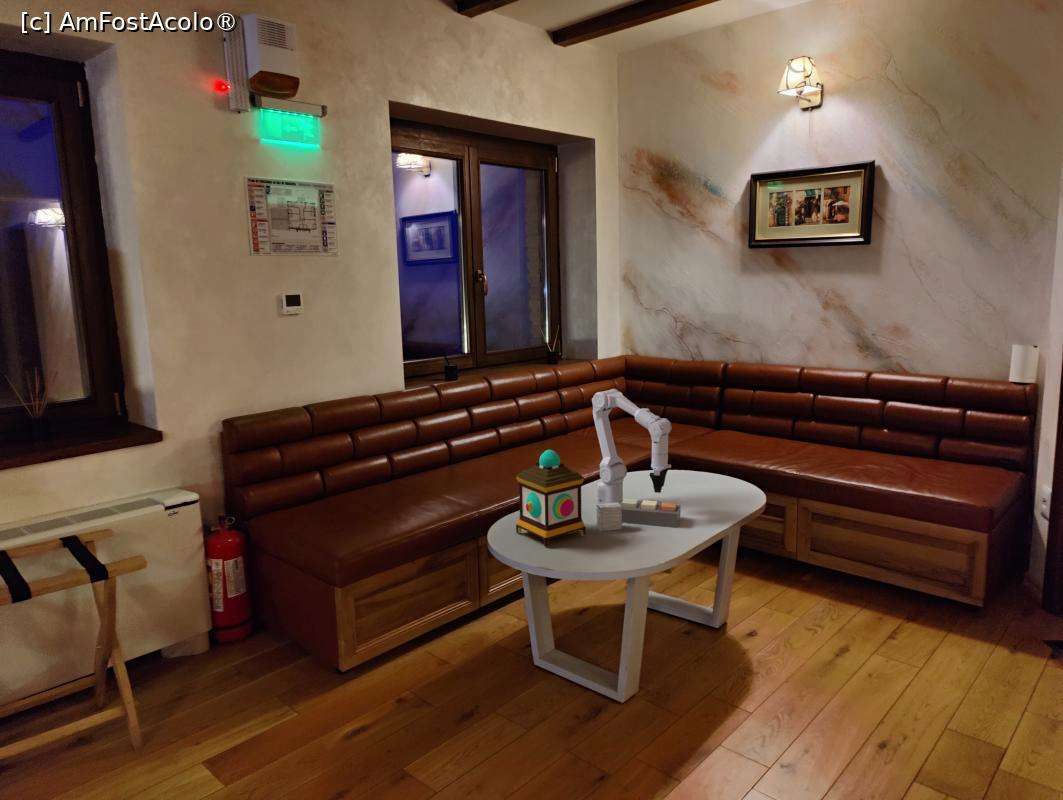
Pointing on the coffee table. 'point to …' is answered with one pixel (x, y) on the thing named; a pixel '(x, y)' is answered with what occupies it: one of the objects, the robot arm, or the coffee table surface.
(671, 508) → the terracotta key
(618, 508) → the medicine box
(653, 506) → the cream key
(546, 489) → the decorative lantern
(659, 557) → the coffee table surface
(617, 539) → the coffee table surface
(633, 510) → the key panel
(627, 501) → the sage key
